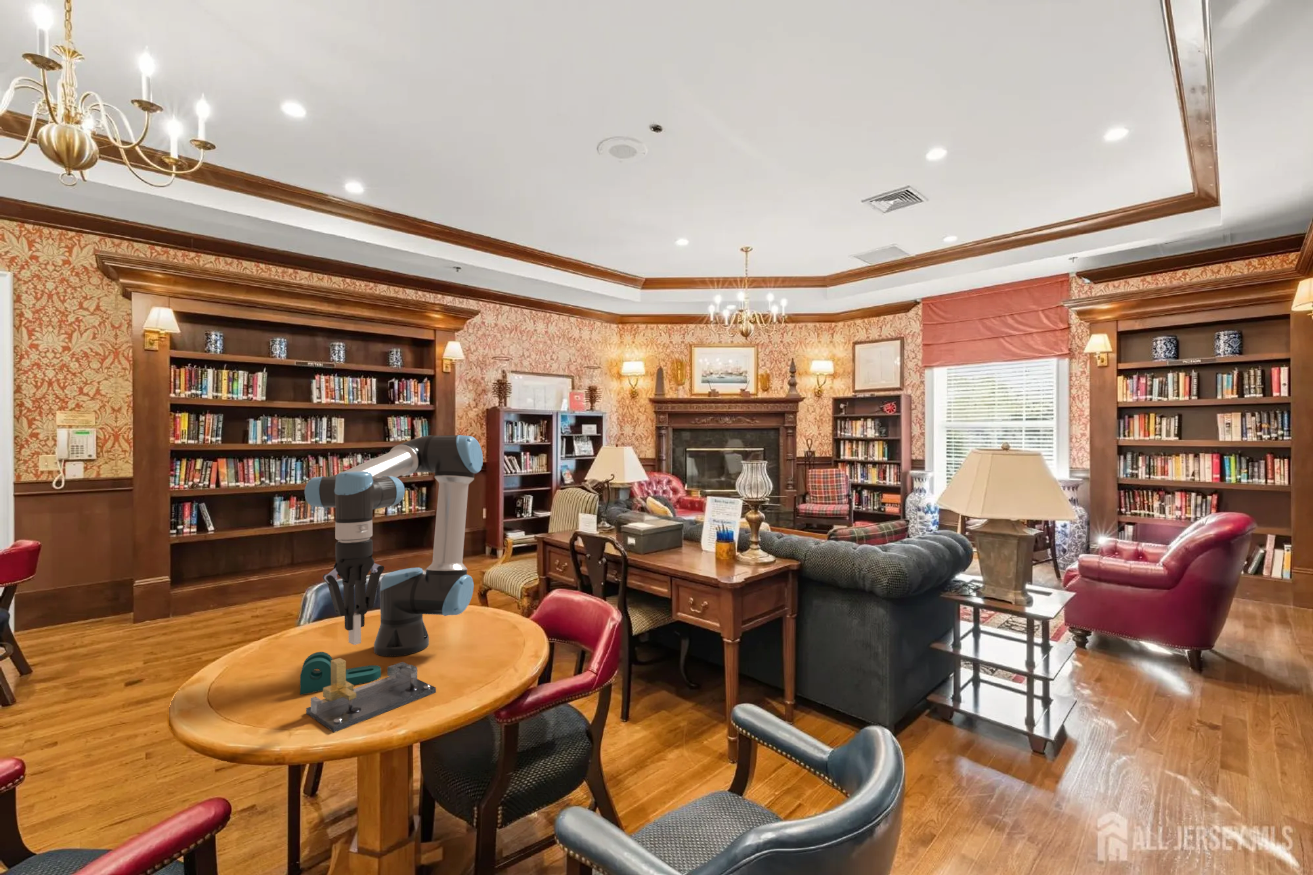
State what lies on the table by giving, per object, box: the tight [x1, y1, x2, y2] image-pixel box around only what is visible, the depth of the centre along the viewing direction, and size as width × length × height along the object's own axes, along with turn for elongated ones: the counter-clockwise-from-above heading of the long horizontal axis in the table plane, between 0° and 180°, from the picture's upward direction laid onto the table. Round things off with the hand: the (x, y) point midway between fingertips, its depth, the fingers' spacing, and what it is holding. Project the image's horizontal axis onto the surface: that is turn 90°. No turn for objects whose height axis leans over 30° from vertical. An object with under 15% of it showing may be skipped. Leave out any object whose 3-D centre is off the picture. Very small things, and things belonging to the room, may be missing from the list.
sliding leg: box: [322, 657, 356, 711], centre depth 131 cm, size 9×5×10 cm, turn 53°
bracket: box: [299, 651, 382, 695], centre depth 147 cm, size 18×7×8 cm, turn 117°
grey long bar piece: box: [310, 661, 418, 715], centre depth 136 cm, size 9×24×4 cm, turn 143°
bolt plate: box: [305, 678, 437, 733], centre depth 136 cm, size 14×24×2 cm, turn 143°
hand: (354, 642), depth 130 cm, fingers closed
